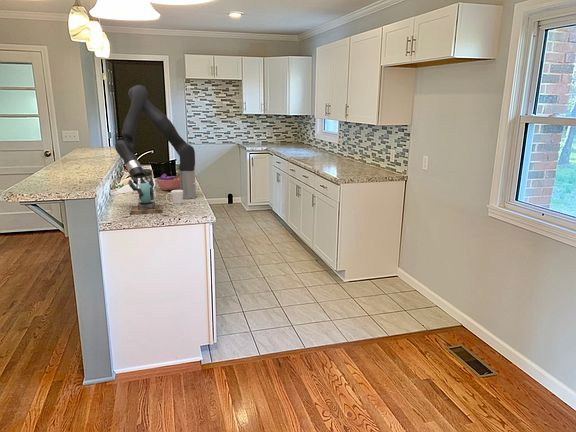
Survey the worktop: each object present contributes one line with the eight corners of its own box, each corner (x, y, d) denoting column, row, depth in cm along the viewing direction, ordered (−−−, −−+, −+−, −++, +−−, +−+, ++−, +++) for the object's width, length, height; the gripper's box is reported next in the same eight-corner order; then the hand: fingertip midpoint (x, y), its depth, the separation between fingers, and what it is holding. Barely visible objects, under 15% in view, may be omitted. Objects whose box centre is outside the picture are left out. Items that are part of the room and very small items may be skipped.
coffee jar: (151, 201, 263) (148, 170, 259) (137, 201, 263) (135, 170, 258) (155, 197, 273) (153, 168, 268) (142, 197, 273) (140, 168, 268)
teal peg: (150, 200, 241) (149, 182, 238) (150, 202, 236) (149, 184, 234) (141, 201, 240) (140, 183, 237) (140, 203, 235) (139, 184, 232)
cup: (184, 205, 253) (183, 191, 251) (166, 206, 250) (165, 192, 248) (183, 202, 260) (182, 189, 258) (166, 203, 257) (165, 190, 255)
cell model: (182, 193, 287) (181, 175, 284) (152, 192, 288) (150, 175, 285) (188, 188, 304) (187, 171, 301) (160, 187, 304) (158, 171, 301)
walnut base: (162, 207, 247) (162, 200, 246) (161, 213, 236) (161, 205, 234) (132, 209, 243) (132, 201, 242) (130, 214, 232) (129, 206, 231)
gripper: (124, 167, 234) (136, 192, 228) (149, 164, 243) (161, 189, 238) (121, 175, 239) (132, 200, 233) (145, 173, 248) (157, 197, 243)
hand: (147, 194), depth 236 cm, fingers closed on teal peg, 5 cm apart
